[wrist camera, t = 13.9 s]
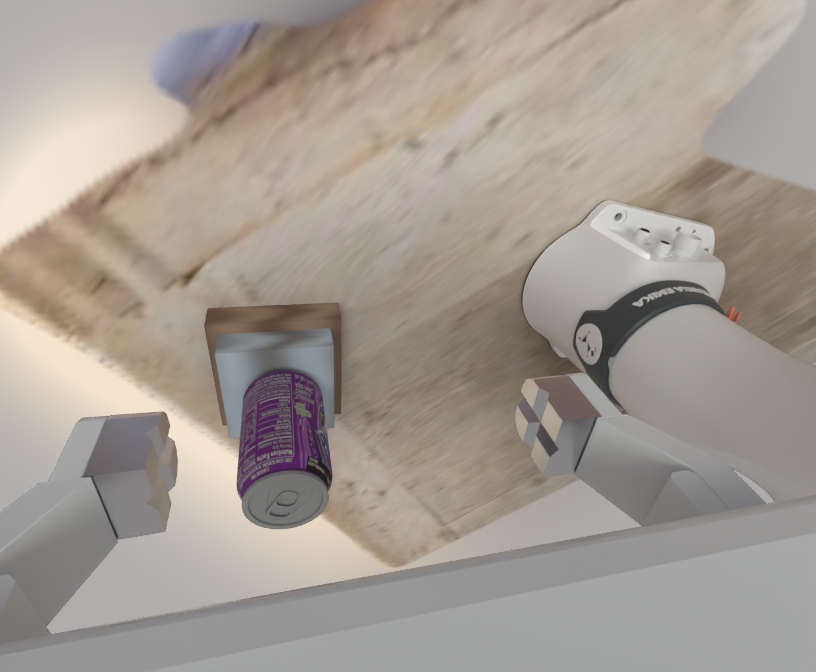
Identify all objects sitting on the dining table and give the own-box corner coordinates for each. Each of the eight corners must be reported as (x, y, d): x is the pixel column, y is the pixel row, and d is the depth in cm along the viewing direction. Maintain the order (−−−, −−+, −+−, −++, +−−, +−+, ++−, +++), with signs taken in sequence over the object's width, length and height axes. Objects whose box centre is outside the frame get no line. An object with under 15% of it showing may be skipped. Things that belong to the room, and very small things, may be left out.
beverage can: (303, 430, 47) (311, 538, 38) (232, 414, 44) (220, 527, 34) (334, 377, 45) (351, 479, 35) (260, 356, 41) (256, 461, 32)
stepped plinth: (337, 302, 47) (344, 336, 42) (337, 395, 54) (344, 433, 49) (208, 308, 44) (200, 345, 39) (225, 405, 51) (220, 447, 46)
